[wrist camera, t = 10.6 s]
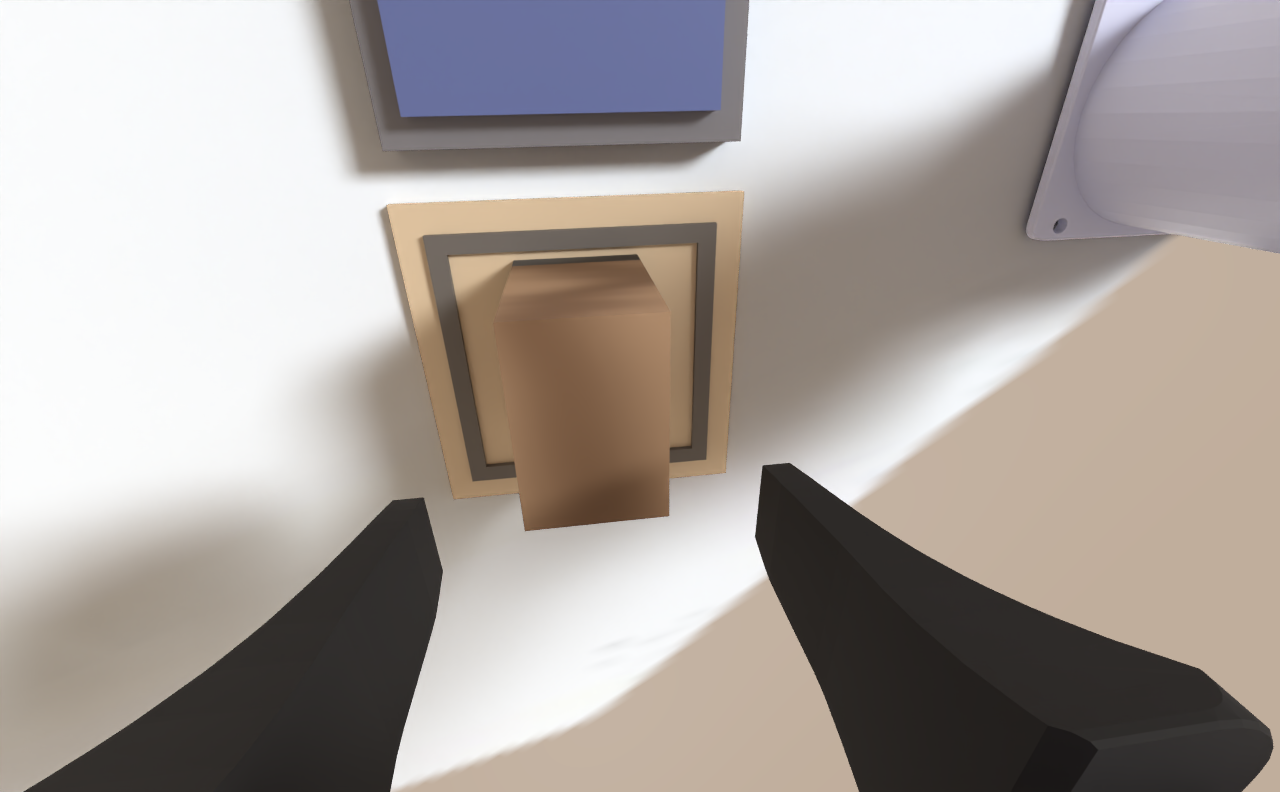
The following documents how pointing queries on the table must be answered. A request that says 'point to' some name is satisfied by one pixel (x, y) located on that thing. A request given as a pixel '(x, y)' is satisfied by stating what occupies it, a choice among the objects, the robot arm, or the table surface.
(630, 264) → the brown rectangular block
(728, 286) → the marked card
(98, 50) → the table surface
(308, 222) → the table surface
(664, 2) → the ink pad
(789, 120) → the table surface
